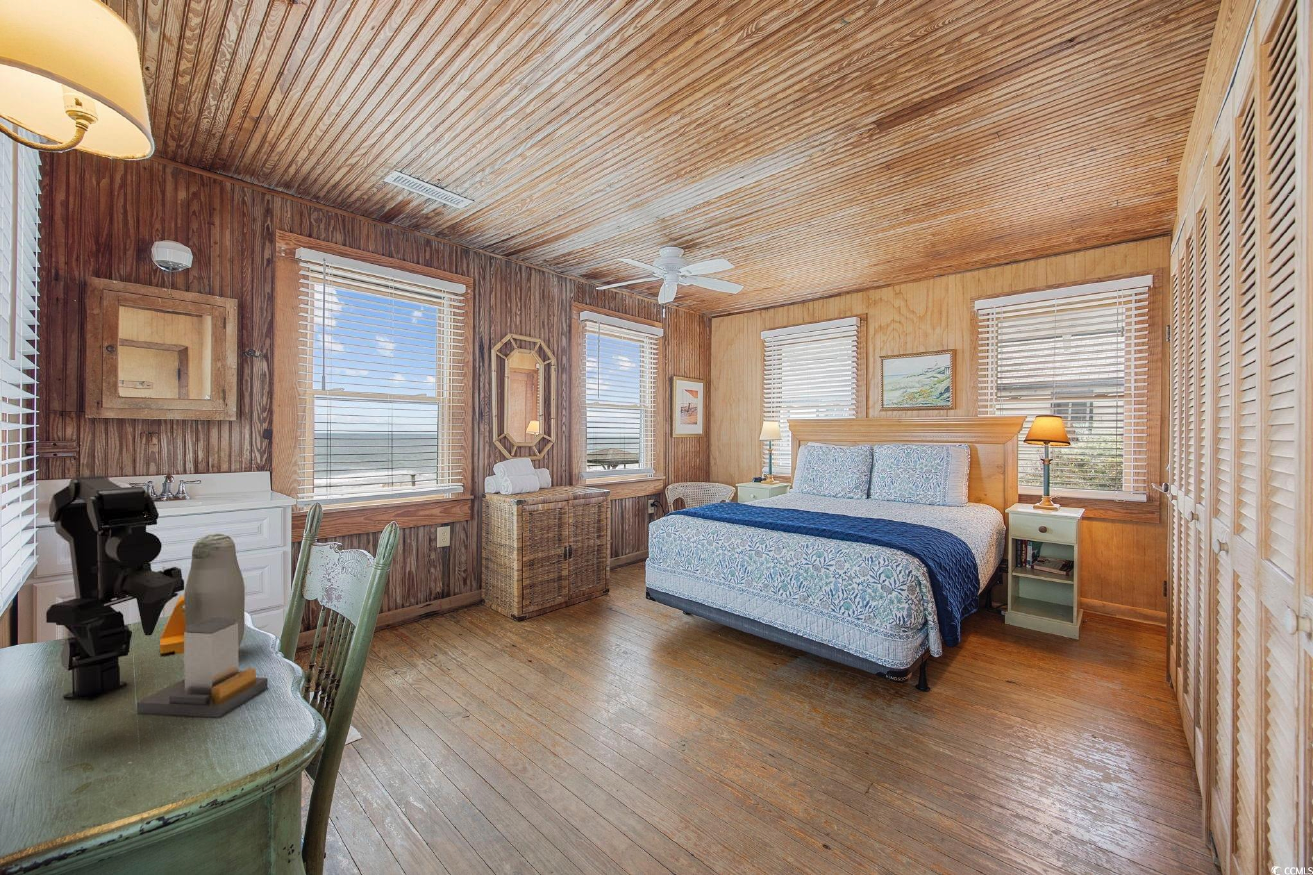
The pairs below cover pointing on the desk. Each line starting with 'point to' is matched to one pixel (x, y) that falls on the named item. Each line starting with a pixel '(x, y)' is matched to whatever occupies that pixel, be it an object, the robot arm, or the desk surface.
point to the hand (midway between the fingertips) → (122, 645)
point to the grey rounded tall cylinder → (215, 583)
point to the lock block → (210, 654)
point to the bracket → (174, 630)
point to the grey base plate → (204, 697)
